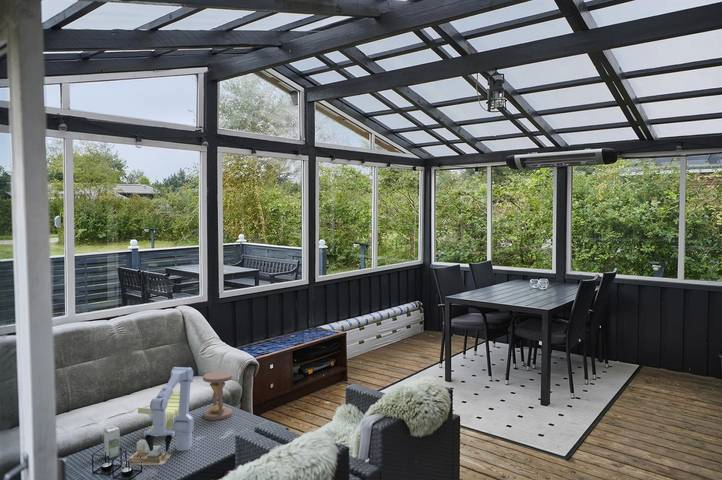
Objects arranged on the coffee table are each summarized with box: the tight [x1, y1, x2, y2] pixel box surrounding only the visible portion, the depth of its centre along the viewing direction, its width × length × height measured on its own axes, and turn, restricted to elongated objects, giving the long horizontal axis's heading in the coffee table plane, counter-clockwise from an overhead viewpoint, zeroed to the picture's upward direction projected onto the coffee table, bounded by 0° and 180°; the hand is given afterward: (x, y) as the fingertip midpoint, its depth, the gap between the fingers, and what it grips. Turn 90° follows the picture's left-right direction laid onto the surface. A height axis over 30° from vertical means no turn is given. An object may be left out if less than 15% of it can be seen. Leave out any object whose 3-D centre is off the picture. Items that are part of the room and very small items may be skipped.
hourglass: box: [202, 371, 233, 421], centre depth 343 cm, size 18×18×25 cm
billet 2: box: [147, 444, 162, 458], centre depth 278 cm, size 4×4×6 cm
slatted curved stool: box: [137, 391, 180, 431], centre depth 318 cm, size 30×16×18 cm, turn 173°
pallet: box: [122, 450, 173, 466], centre depth 278 cm, size 13×20×3 cm, turn 88°
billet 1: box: [136, 438, 149, 452], centre depth 289 cm, size 4×4×6 cm
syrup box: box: [103, 425, 121, 460], centre depth 284 cm, size 6×6×14 cm
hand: (159, 450), depth 267 cm, fingers open, 7 cm apart
